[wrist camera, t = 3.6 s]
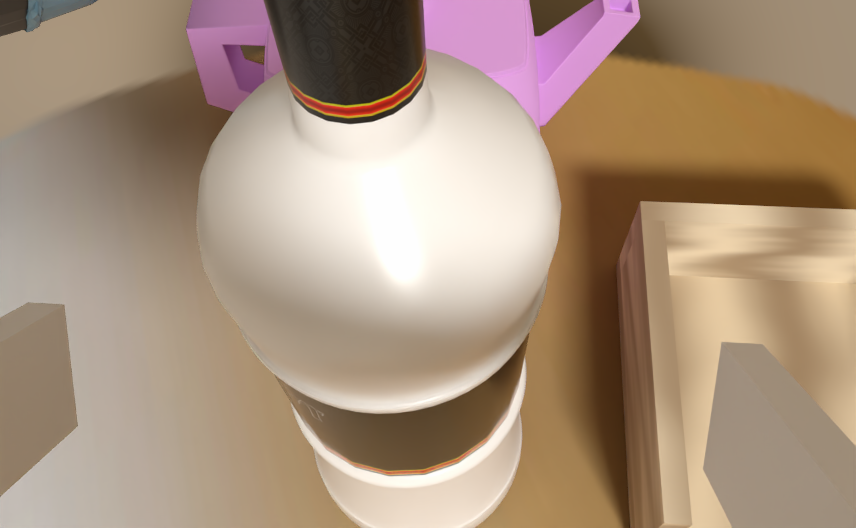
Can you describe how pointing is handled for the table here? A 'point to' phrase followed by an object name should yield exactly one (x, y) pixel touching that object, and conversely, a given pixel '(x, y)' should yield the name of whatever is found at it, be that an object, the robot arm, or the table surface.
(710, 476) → the robot arm
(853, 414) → the bottle rest
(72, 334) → the table surface
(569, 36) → the teakettle
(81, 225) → the table surface
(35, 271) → the table surface
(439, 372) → the vodka
